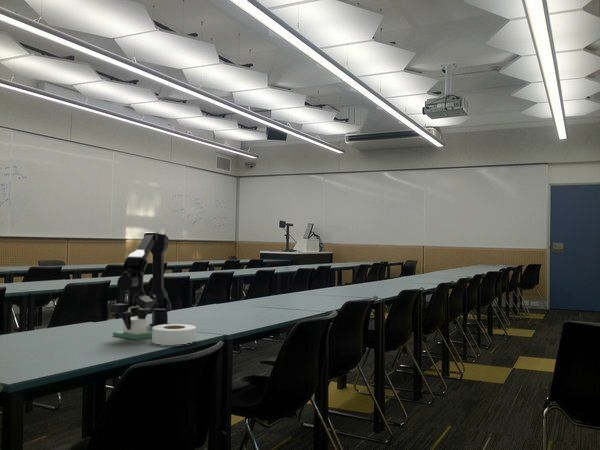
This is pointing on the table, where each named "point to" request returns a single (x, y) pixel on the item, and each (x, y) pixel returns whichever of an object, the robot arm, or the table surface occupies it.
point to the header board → (132, 335)
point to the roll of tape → (173, 334)
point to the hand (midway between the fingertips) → (134, 328)
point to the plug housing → (136, 326)
